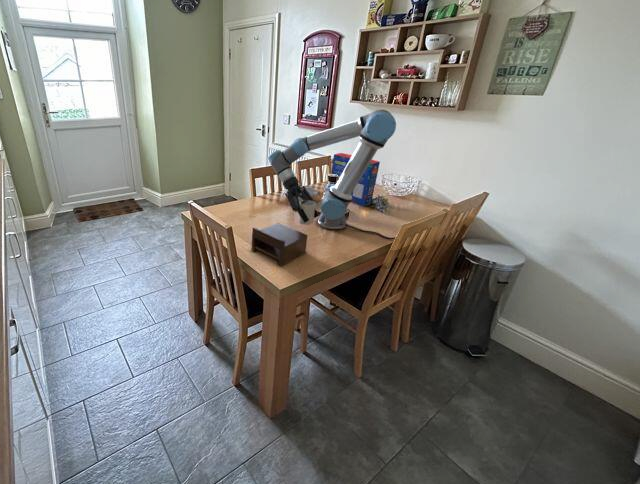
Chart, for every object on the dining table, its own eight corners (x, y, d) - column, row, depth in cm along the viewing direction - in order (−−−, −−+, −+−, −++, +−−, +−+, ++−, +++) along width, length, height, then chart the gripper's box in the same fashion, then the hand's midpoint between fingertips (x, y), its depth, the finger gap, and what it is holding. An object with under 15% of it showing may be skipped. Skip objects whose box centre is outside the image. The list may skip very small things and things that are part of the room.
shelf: (276, 238, 165) (277, 217, 160) (305, 252, 154) (308, 229, 149) (251, 250, 154) (252, 227, 149) (281, 266, 142) (283, 241, 137)
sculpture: (299, 192, 229) (300, 179, 225) (323, 199, 217) (324, 185, 213) (276, 201, 212) (277, 187, 208) (301, 209, 200) (302, 194, 196)
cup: (313, 219, 165) (316, 201, 161) (312, 225, 158) (315, 206, 154) (298, 217, 167) (300, 199, 163) (296, 223, 160) (298, 204, 156)
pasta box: (371, 204, 212) (379, 161, 200) (364, 206, 207) (372, 163, 195) (335, 192, 231) (341, 152, 220) (328, 194, 227) (333, 154, 215)
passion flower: (380, 220, 202) (380, 209, 193) (366, 211, 209) (365, 200, 199) (392, 208, 204) (393, 196, 194) (377, 199, 210) (377, 188, 201)
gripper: (296, 179, 172) (318, 216, 169) (270, 187, 159) (294, 228, 156) (305, 171, 167) (328, 210, 163) (279, 179, 154) (304, 221, 150)
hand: (311, 219), depth 159 cm, fingers closed on cup, 8 cm apart
